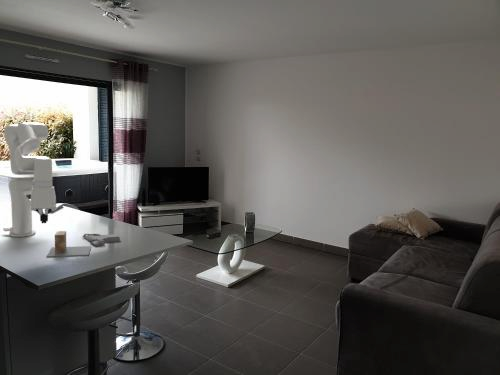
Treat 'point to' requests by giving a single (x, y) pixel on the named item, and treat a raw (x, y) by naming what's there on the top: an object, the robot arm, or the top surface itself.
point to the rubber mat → (71, 252)
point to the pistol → (101, 238)
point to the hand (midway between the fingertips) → (44, 222)
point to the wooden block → (60, 242)
